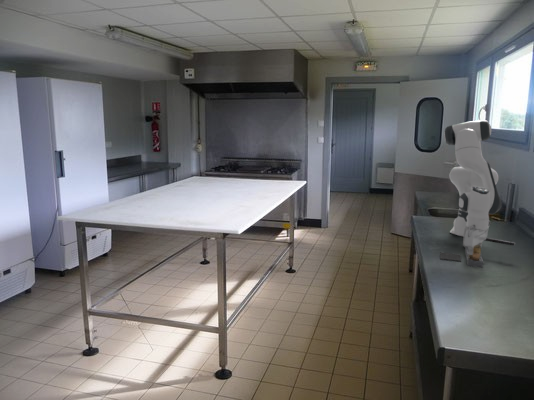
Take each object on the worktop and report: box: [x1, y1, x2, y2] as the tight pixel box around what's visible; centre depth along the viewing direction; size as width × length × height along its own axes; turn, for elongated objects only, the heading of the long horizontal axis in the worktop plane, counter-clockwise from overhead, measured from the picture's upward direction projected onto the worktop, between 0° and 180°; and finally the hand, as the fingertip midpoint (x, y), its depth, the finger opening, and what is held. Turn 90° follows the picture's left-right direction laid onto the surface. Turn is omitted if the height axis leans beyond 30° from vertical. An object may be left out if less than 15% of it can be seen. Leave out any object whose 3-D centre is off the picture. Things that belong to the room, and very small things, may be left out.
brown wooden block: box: [469, 245, 482, 257], centre depth 195 cm, size 6×4×4 cm
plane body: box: [464, 246, 484, 269], centre depth 197 cm, size 24×6×7 cm, turn 158°
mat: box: [439, 252, 462, 263], centre depth 200 cm, size 10×9×1 cm
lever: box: [483, 237, 516, 246], centre depth 201 cm, size 19×2×1 cm, turn 49°
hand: (474, 252), depth 195 cm, fingers open, 8 cm apart
